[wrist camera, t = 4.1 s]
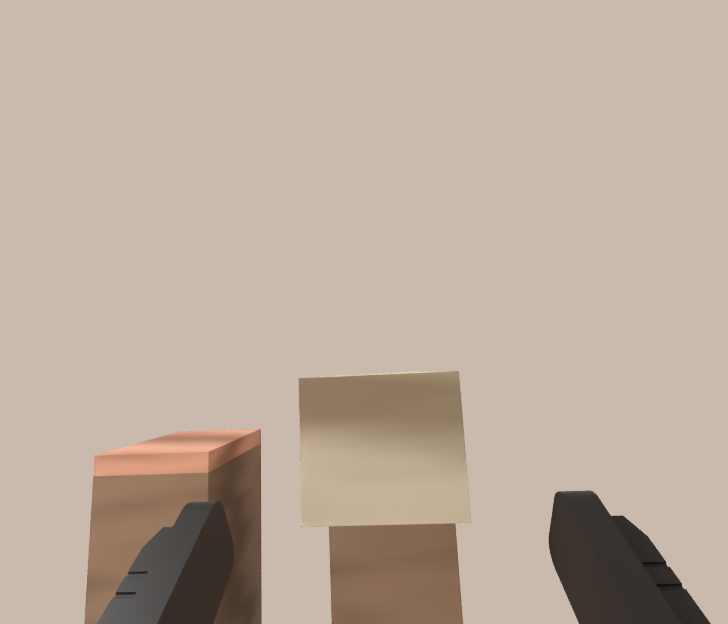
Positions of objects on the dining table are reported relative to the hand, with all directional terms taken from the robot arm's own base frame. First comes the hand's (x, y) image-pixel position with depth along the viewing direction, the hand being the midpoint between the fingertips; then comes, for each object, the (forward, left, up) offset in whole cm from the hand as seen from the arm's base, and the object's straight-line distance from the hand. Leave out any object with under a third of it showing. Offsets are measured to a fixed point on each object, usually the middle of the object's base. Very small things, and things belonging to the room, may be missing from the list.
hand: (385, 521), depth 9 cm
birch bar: (+5, -11, 0) cm, 12 cm away
